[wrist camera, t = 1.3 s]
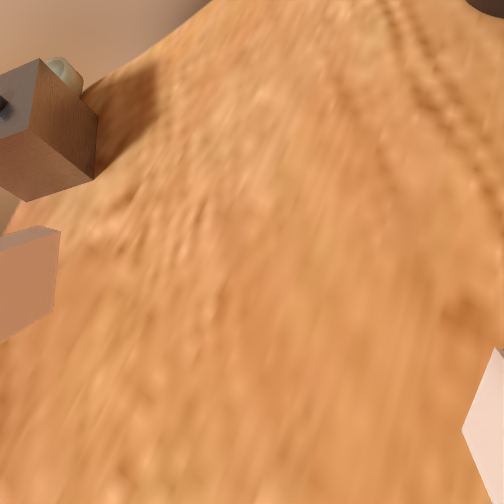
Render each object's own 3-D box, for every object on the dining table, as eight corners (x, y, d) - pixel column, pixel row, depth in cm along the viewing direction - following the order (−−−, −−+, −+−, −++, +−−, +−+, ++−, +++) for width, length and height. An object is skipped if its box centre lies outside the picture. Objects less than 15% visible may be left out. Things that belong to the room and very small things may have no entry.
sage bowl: (63, 79, 65) (42, 58, 61) (93, 76, 62) (73, 55, 59) (47, 111, 63) (25, 92, 60) (78, 110, 61) (56, 90, 57)
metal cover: (35, 139, 61) (-39, 80, 52) (97, 116, 59) (31, 49, 49) (26, 202, 57) (-58, 150, 47) (92, 180, 54) (18, 121, 45)
